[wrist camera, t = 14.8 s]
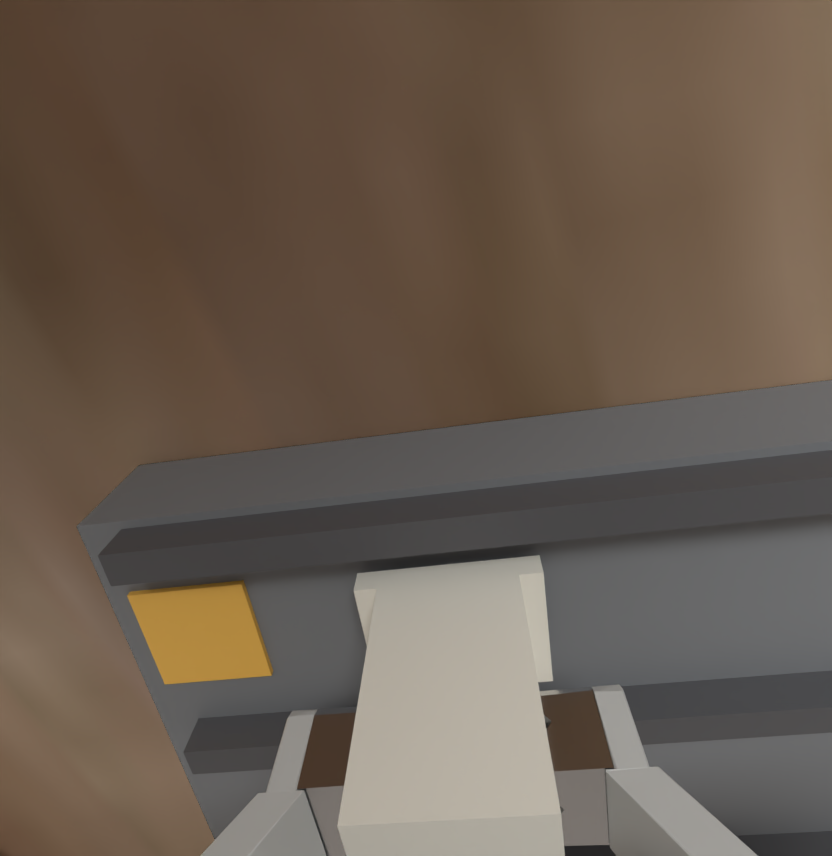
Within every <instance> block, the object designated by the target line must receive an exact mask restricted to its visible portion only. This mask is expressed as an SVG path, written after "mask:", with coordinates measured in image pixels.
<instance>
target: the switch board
mask: <svg viewBox="0 0 832 856" xmlns="http://www.w3.org/2000/svg"><path fill="white" fill-rule="evenodd" d="M77 529H78V531H79V533H80V535H81V538H82V540H83V542H84V544H85V547H86V549H87V551H88V554H89V556H90V558H91V560H92V563H93V565H94V567H95V569H96V572H97V574H98V576H99V578H100V581H101V583H102V585H103V587H104V590H105V592H106V594H107V597H108V599H109V601H110V603H111V606H112V608H113V610H114V612H115V615H116V617H117V619H118V621H119V624H120V626H121V628H122V630H123V633H124V635H125V637H126V640H127V642H128V644H129V646H130V649H131V651H132V653H133V655H134V658H135V660H136V662H137V664H138V667H139V669H140V671H141V674H142V676H143V678H144V680H145V683H146V685H147V687H148V689H149V692H150V694H151V696H152V698H153V701H154V703H155V705H156V707H157V710H158V712H159V714H160V717H161V719H162V721H163V723H164V726H165V728H166V730H167V732H168V735H169V737H170V739H171V741H172V744H173V746H174V748H175V750H176V753H177V755H178V757H179V760H180V762H181V764H182V766H183V769H184V771H185V773H186V775H187V778H188V780H189V782H190V784H191V787H192V789H193V791H194V794H195V796H196V798H197V800H198V803H199V805H200V807H201V809H202V812H203V814H204V816H205V818H206V821H207V823H208V825H209V827H210V830H211V832H212V834H213V837H214V839H216V838H217V837H218V836H219V835H220V834H221V833H222V832H223V831H224V829H225V828H226V827H227V826H228V825H229V824H230V823H231V822H232V821H233V820H234V819H235V818H236V816H237V815H238V814H239V813H240V812H241V811H242V810H243V809H244V808H245V807H246V806H247V805H248V803H249V802H250V801H251V800H252V799H253V798H254V797H255V796H256V795H257V794H258V793H265V792H266V790H267V786H268V783H269V780H270V776H271V773H272V769H273V766H274V762H275V759H276V755H277V752H278V749H279V745H280V742H281V738H282V735H283V731H284V728H285V724H286V721H287V718H288V717H289V715H290V714H291V712H292V711H296V710H313V709H324V708H343V707H357V704H358V698H359V692H360V686H361V680H362V674H363V668H364V662H365V656H366V650H367V645H366V641H365V636H364V632H363V628H362V624H361V620H360V616H359V612H358V607H357V603H356V599H355V595H354V586H355V582H356V577H357V573H365V572H375V571H385V570H395V569H405V568H415V567H425V566H435V565H445V564H455V563H465V562H476V561H486V560H496V559H506V558H516V557H526V556H536V555H540V559H541V564H542V568H543V572H544V583H545V595H546V606H547V618H548V629H549V641H550V652H551V664H552V675H553V681H549V682H538V685H539V691H549V690H559V689H570V688H581V687H590V688H591V687H595V686H607V685H618V684H619V685H620V686H621V687H622V688H623V690H624V693H625V696H626V699H627V702H628V705H629V708H630V711H631V714H632V717H633V720H634V723H635V726H636V729H637V732H638V734H639V737H640V740H641V743H642V746H643V749H644V752H645V755H646V758H647V761H648V764H649V767H660V768H661V769H662V770H663V771H664V772H665V773H666V774H667V775H669V776H670V777H671V778H672V779H673V780H674V781H675V782H676V783H677V784H679V785H680V786H681V787H682V788H683V789H684V790H685V791H686V792H687V793H689V794H690V795H691V796H692V797H693V798H694V799H695V800H696V801H698V802H699V803H700V804H701V805H702V806H703V807H704V808H705V809H706V810H708V811H709V812H710V813H711V814H712V815H713V816H714V817H715V818H717V819H718V820H719V821H720V822H721V823H722V824H723V825H724V826H725V827H727V828H728V829H729V830H730V831H731V832H732V833H733V834H734V835H735V836H737V837H738V838H739V839H740V840H741V841H742V842H743V843H744V844H746V845H747V846H748V847H749V848H750V849H751V850H752V851H753V852H754V853H756V854H757V855H758V856H832V380H828V381H820V382H812V383H804V384H796V385H788V386H780V387H772V388H763V389H755V390H747V391H739V392H731V393H723V394H715V395H706V396H698V397H690V398H682V399H674V400H666V401H658V402H649V403H641V404H633V405H625V406H617V407H609V408H601V409H593V410H584V411H576V412H568V413H560V414H552V415H544V416H536V417H527V418H519V419H511V420H503V421H495V422H487V423H479V424H470V425H462V426H454V427H446V428H438V429H430V430H422V431H414V432H405V433H397V434H389V435H381V436H373V437H365V438H357V439H348V440H340V441H332V442H324V443H316V444H308V445H300V446H292V447H283V448H275V449H267V450H259V451H251V452H243V453H235V454H226V455H218V456H210V457H202V458H194V459H186V460H178V461H169V462H161V463H153V464H145V465H139V466H138V467H137V468H136V469H134V470H133V471H132V472H131V473H130V474H129V475H128V476H127V477H126V478H125V479H124V480H123V481H122V482H121V483H120V484H119V485H118V486H117V487H116V488H115V489H114V490H113V491H112V492H111V493H110V494H109V495H108V496H107V497H106V498H105V499H104V500H103V501H102V502H101V503H100V504H99V505H98V506H97V507H96V508H95V509H94V510H93V511H92V512H91V513H90V514H89V515H88V516H87V517H85V518H84V519H83V520H82V521H81V522H80V523H79V524H78V525H77ZM564 850H565V856H616V855H615V853H614V852H613V851H612V850H611V848H610V845H581V846H564Z"/></svg>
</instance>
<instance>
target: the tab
mask: <svg viewBox="0 0 832 856" xmlns="http://www.w3.org/2000/svg"><path fill="white" fill-rule="evenodd" d="M354 595H355V599H356V603H357V607H358V612H359V616H360V620H361V624H362V628H363V632H364V636H365V641H366V645H367V650H366V656H365V662H364V668H363V674H362V680H361V686H360V692H359V698H358V704H357V710H356V716H355V722H354V728H353V734H352V740H351V746H350V752H349V759H348V765H347V771H346V777H345V783H344V789H343V795H342V801H341V807H340V813H339V819H338V825H337V827H338V830H339V833H340V837H341V840H342V843H343V846H344V849H345V852H346V856H565V850H564V839H563V828H562V817H561V810H560V804H559V798H558V793H557V787H556V781H555V776H554V770H553V764H552V759H551V753H550V747H549V742H548V736H547V730H546V725H545V719H544V713H543V708H542V702H541V696H540V691H539V685H538V682H549V681H553V675H552V664H551V652H550V641H549V629H548V618H547V606H546V595H545V583H544V572H543V568H542V564H541V559H540V555H536V556H526V557H516V558H506V559H496V560H486V561H476V562H465V563H455V564H445V565H435V566H425V567H415V568H405V569H395V570H385V571H375V572H365V573H357V577H356V582H355V586H354Z"/></svg>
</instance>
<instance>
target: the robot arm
mask: <svg viewBox="0 0 832 856" xmlns="http://www.w3.org/2000/svg"><path fill="white" fill-rule="evenodd" d="M540 696H541V702H542V708H543V713H544V719H545V725H546V730H547V736H548V742H549V747H550V753H551V759H552V764H553V770H554V776H555V781H556V787H557V793H558V798H559V804H560V810H561V817H562V828H563V839H564V846H581V845H610V848H611V850H612V851H613V852H614V853H615V855H616V856H758V855H757V854H756V853H754V852H753V851H752V850H751V849H750V848H749V847H748V846H747V845H746V844H744V843H743V842H742V841H741V840H740V839H739V838H738V837H737V836H735V835H734V834H733V833H732V832H731V831H730V830H729V829H728V828H727V827H725V826H724V825H723V824H722V823H721V822H720V821H719V820H718V819H717V818H715V817H714V816H713V815H712V814H711V813H710V812H709V811H708V810H706V809H705V808H704V807H703V806H702V805H701V804H700V803H699V802H698V801H696V800H695V799H694V798H693V797H692V796H691V795H690V794H689V793H687V792H686V791H685V790H684V789H683V788H682V787H681V786H680V785H679V784H677V783H676V782H675V781H674V780H673V779H672V778H671V777H670V776H669V775H667V774H666V773H665V772H664V771H663V770H662V769H661V768H660V767H649V764H648V761H647V758H646V755H645V752H644V749H643V746H642V743H641V740H640V737H639V734H638V732H637V729H636V726H635V723H634V720H633V717H632V714H631V711H630V708H629V705H628V702H627V699H626V696H625V693H624V690H623V688H622V687H621V686H620V685H619V684H618V685H607V686H595V687H591V688H590V687H581V688H570V689H559V690H549V691H540ZM356 710H357V707H343V708H324V709H313V710H296V711H292V712H291V714H290V715H289V717H288V718H287V721H286V724H285V728H284V731H283V735H282V738H281V742H280V745H279V749H278V752H277V755H276V759H275V762H274V766H273V769H272V773H271V776H270V780H269V783H268V786H267V790H266V792H265V793H258V794H257V795H256V796H255V797H254V798H253V799H252V800H251V801H250V802H249V803H248V805H247V806H246V807H245V808H244V809H243V810H242V811H241V812H240V813H239V814H238V815H237V816H236V818H235V819H234V820H233V821H232V822H231V823H230V824H229V825H228V826H227V827H226V828H225V829H224V831H223V832H222V833H221V834H220V835H219V836H218V837H217V838H216V839H215V840H214V841H213V842H212V844H211V845H210V846H209V847H208V848H207V849H206V850H205V851H204V852H203V853H202V854H201V855H200V856H346V852H345V849H344V846H343V843H342V840H341V837H340V833H339V830H338V827H337V825H338V819H339V813H340V807H341V801H342V795H343V789H344V783H345V777H346V771H347V765H348V759H349V752H350V746H351V740H352V734H353V728H354V722H355V716H356Z"/></svg>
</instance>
